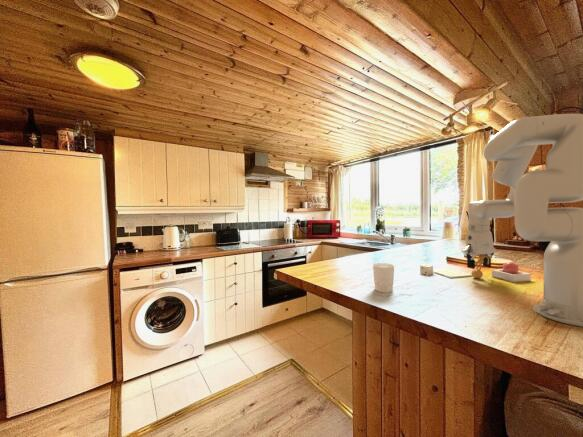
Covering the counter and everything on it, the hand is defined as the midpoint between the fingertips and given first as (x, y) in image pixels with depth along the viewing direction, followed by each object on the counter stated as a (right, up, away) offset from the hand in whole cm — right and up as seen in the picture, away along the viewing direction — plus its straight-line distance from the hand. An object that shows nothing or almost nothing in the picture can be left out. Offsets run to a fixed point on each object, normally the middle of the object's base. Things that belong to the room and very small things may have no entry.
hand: (479, 267), depth 106 cm
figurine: (0, -5, 0) cm, 5 cm away
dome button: (+13, -2, -2) cm, 13 cm away
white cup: (-48, -7, -11) cm, 49 cm away
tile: (-7, -5, +8) cm, 12 cm away
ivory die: (-18, -5, +10) cm, 21 cm away
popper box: (+13, -5, -2) cm, 14 cm away
